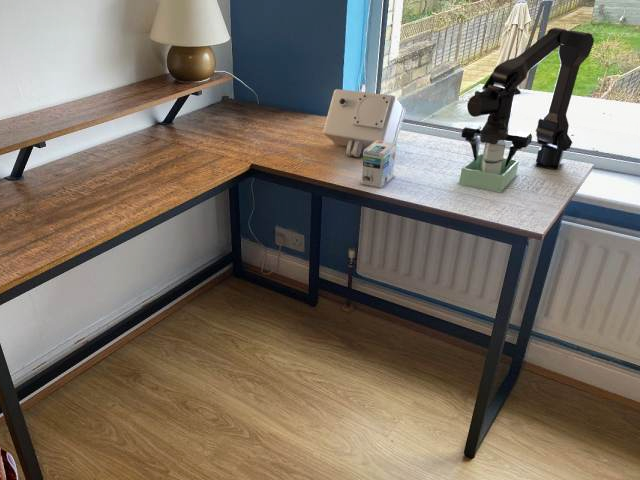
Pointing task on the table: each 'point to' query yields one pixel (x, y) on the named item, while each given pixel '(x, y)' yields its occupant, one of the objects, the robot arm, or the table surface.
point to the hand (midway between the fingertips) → (490, 163)
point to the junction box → (363, 119)
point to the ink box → (493, 157)
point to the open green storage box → (488, 175)
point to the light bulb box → (378, 163)
